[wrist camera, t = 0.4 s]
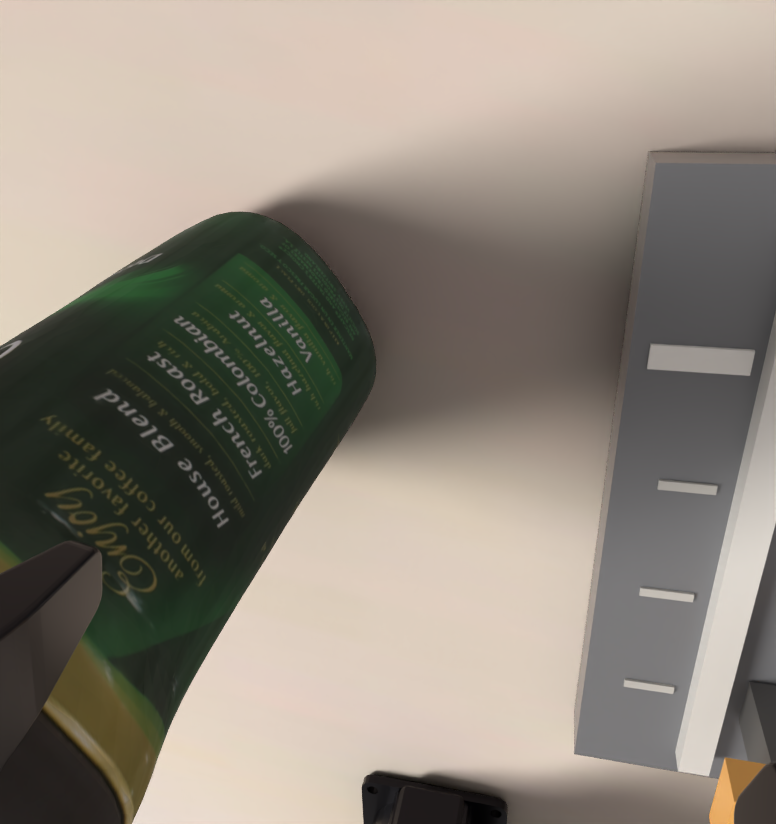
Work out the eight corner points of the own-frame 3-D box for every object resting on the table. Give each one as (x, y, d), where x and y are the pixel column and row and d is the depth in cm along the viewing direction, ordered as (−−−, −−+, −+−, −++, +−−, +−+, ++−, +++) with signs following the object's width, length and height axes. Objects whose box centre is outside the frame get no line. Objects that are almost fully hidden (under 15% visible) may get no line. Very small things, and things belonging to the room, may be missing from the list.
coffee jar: (266, 156, 21) (-645, 729, 6) (420, 373, 23) (77, 1174, 8) (68, 309, 25) (-725, 852, 10) (214, 477, 28) (-249, 1110, 13)
